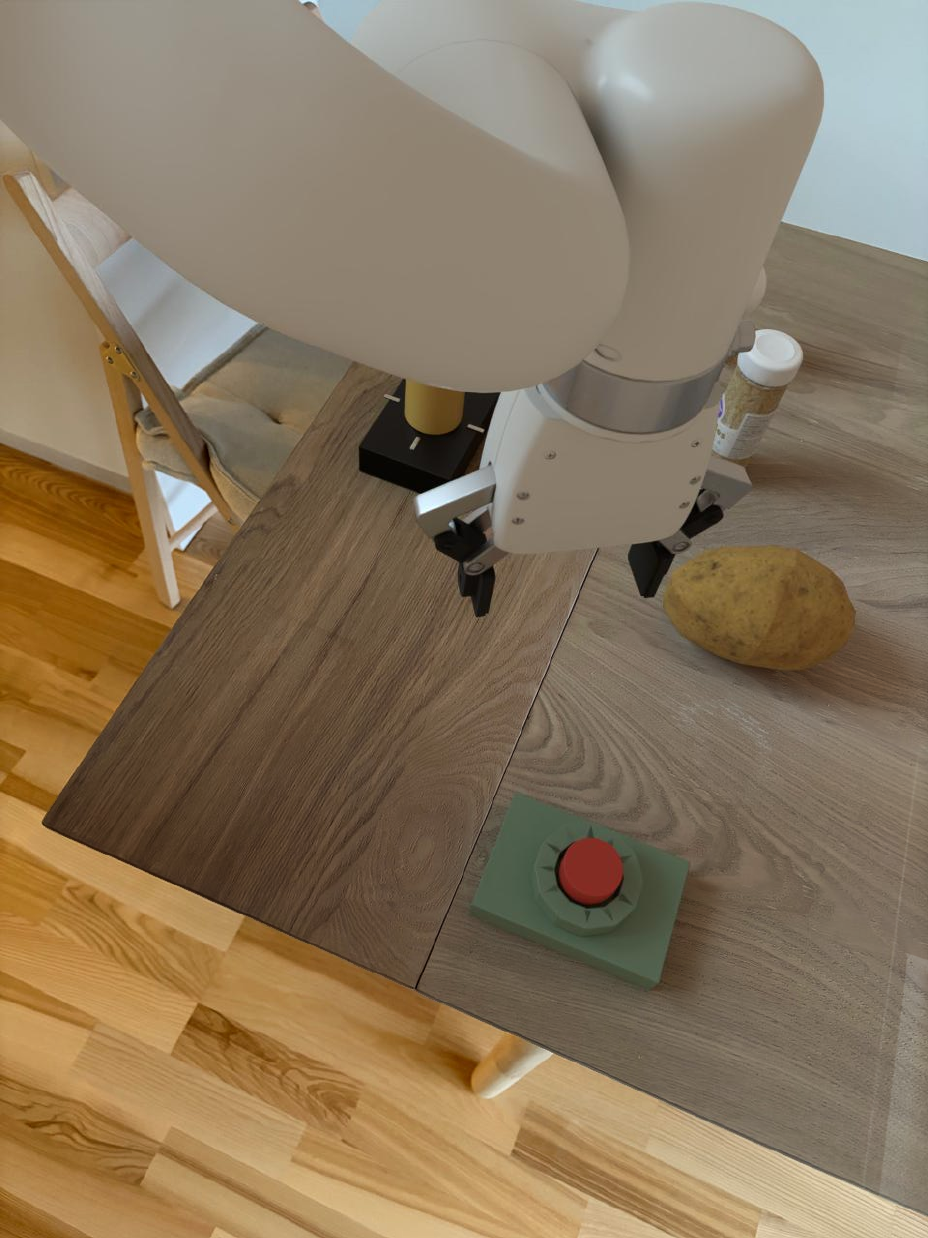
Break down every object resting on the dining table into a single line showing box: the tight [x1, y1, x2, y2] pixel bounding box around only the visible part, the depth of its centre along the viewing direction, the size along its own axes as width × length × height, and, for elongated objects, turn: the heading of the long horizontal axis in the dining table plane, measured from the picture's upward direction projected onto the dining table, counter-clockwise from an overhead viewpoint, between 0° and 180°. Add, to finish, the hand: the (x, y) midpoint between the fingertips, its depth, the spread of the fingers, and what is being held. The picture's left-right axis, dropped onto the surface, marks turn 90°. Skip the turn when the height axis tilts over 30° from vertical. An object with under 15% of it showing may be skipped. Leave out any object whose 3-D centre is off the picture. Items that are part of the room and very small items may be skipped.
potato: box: [662, 544, 857, 671], centre depth 68 cm, size 10×13×9 cm
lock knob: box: [405, 379, 465, 435], centre depth 76 cm, size 5×5×6 cm
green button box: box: [467, 791, 691, 991], centre depth 59 cm, size 12×8×4 cm, turn 69°
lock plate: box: [358, 378, 501, 495], centre depth 79 cm, size 12×9×3 cm
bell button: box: [559, 838, 623, 905], centre depth 57 cm, size 4×4×2 cm
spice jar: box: [711, 328, 804, 470], centre depth 76 cm, size 5×5×13 cm
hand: (559, 586), depth 53 cm, fingers open, 9 cm apart
